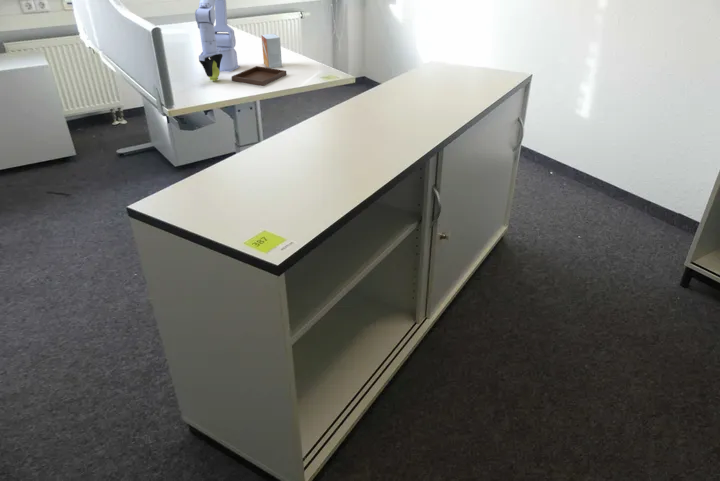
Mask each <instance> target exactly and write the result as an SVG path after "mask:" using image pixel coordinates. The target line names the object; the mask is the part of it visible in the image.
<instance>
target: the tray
mask: <svg viewBox="0 0 720 481" xmlns="http://www.w3.org/2000/svg"><path fill="white" fill-rule="evenodd" d="M287 74H288V73H287V70H284V69H277V68H273V67H272V68H269V67H267V66H266V67H265V66H259V65H256V66H253V67H251V68H248V69H246V70H244V71H241V72H239V73H236V74H234V75H231V82H236V83H242V84H248V85H254V86H260V87H265V86H266V85H269V84H271V83H273V82H275V81H277V80H280V79H282V78H284V77H286V76H287Z"/></svg>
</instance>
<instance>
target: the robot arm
mask: <svg viewBox="0 0 720 481" xmlns="http://www.w3.org/2000/svg"><path fill="white" fill-rule="evenodd" d="M227 9H228V8H227V0H199V4H198V8H197V9H195V11H194V17H195V18H194V19H195V23H196V25H197V28H198V29H199V35H200V36H199V37H200V42H201V50H202V52H201V53H200V54H199V55H198V62H199V63H200V64H201V66H202V67H203V70H204V72H205V74H206V77H208V76H210V77H212V74H213V73H212V65H213V61H215V62H216V64H217V67H218V69H219V71H220V73H222V72H227V73H231V72H233V71H235V70H236V69H238V68H240V67H241V65H239V63H238V54H237V50H236V49H235V48H236V35H235V30H234V29H233V28H232V27H231V26H229V25H228V12H227ZM210 57H212V60H211V58H210Z"/></svg>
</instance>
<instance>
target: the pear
mask: <svg viewBox="0 0 720 481" xmlns="http://www.w3.org/2000/svg"><path fill="white" fill-rule="evenodd" d="M210 58H211V60H212V57H210ZM210 58H209V59H210ZM212 73H213V74H212V77H210V76H207V78H209V80H210V81H218V80H219V77H220V73H221V72H220V71H219V69H218V67H217V64H216V62H215V61H213V65H212Z"/></svg>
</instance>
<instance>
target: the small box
mask: <svg viewBox="0 0 720 481" xmlns="http://www.w3.org/2000/svg"><path fill="white" fill-rule="evenodd" d="M260 37H261V47H262V57H263V58H262V60H263V64H264V66H266V68H272V69H273V68H280V67H283V61H282V47H281V37H280V36H278V35H277V34H275V33H266V34H261V35H260Z"/></svg>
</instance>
